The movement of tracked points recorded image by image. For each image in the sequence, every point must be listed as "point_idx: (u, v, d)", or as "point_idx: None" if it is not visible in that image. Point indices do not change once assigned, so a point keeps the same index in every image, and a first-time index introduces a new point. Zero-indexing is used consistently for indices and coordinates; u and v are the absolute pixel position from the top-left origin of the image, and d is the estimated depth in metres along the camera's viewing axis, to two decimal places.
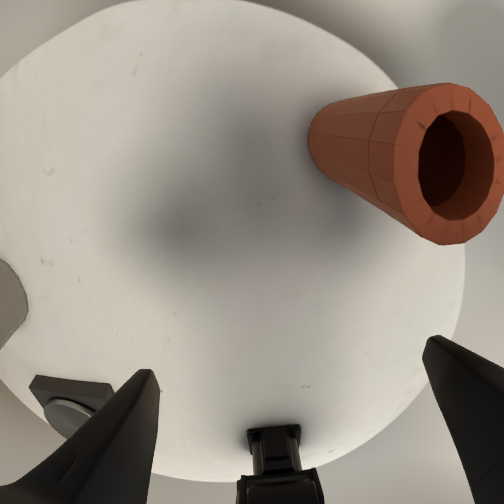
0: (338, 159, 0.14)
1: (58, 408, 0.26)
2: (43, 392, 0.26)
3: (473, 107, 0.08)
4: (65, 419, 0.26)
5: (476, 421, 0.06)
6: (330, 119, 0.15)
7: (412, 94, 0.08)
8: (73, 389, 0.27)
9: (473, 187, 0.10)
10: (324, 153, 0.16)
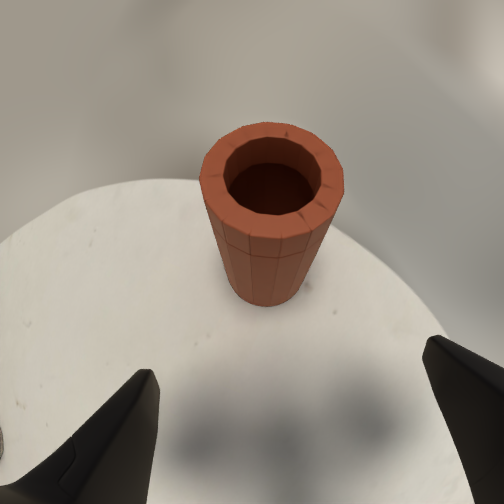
0: (220, 253, 0.17)
1: None
2: None
3: (271, 131, 0.13)
4: None
5: (476, 421, 0.06)
6: None
7: None
8: None
9: None
10: (224, 266, 0.19)
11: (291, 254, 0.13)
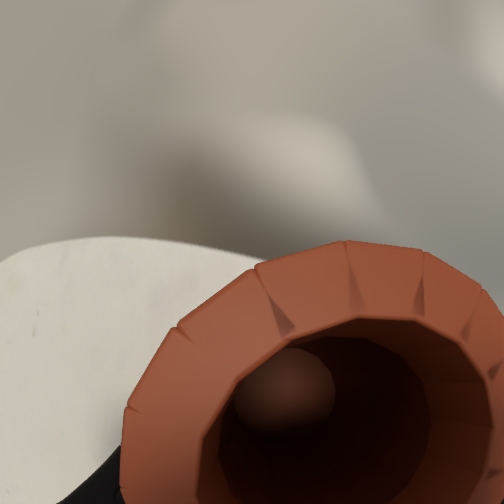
0: None
1: None
2: None
3: (368, 290, 0.03)
4: None
5: None
6: None
7: None
8: None
9: (450, 455, 0.03)
10: None
11: None
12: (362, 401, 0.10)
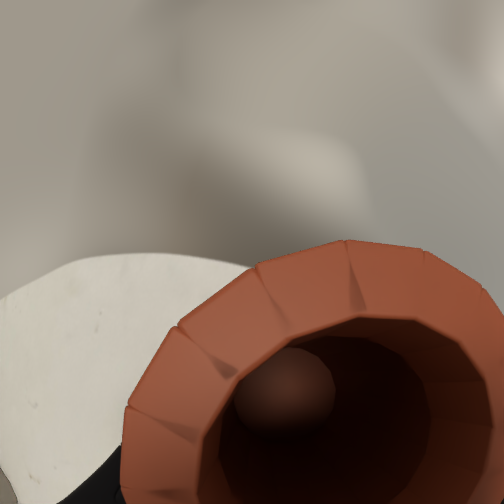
0: None
1: None
2: None
3: (369, 290, 0.03)
4: None
5: None
6: None
7: None
8: None
9: (450, 454, 0.03)
10: None
11: None
12: (362, 400, 0.10)
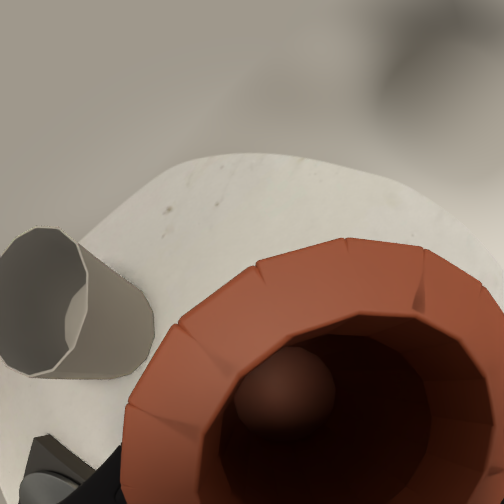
0: None
1: (66, 490, 0.13)
2: (52, 459, 0.15)
3: (369, 287, 0.03)
4: None
5: None
6: None
7: None
8: None
9: (451, 453, 0.03)
10: None
11: None
12: (363, 400, 0.10)
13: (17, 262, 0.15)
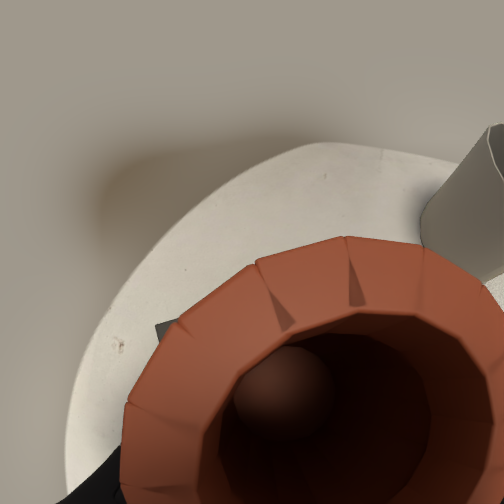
0: None
1: None
2: None
3: (368, 286, 0.03)
4: None
5: None
6: None
7: None
8: None
9: (451, 452, 0.03)
10: None
11: None
12: (363, 399, 0.10)
13: (495, 138, 0.14)
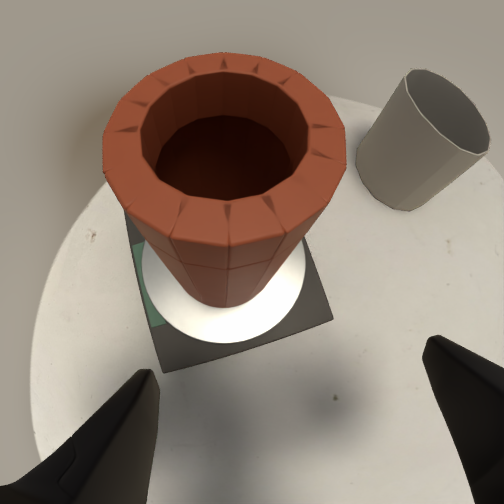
0: None
1: None
2: None
3: (230, 64, 0.07)
4: None
5: (476, 421, 0.06)
6: None
7: None
8: None
9: (297, 165, 0.08)
10: None
11: (249, 264, 0.08)
12: None
13: (422, 83, 0.19)
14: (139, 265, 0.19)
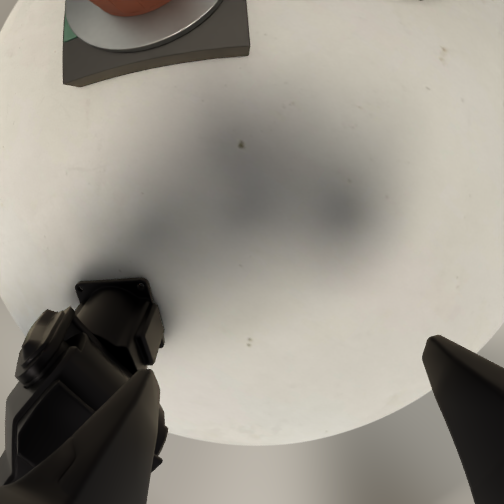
0: None
1: None
2: None
3: None
4: None
5: (476, 421, 0.06)
6: None
7: None
8: None
9: None
10: None
11: None
12: None
13: None
14: None
